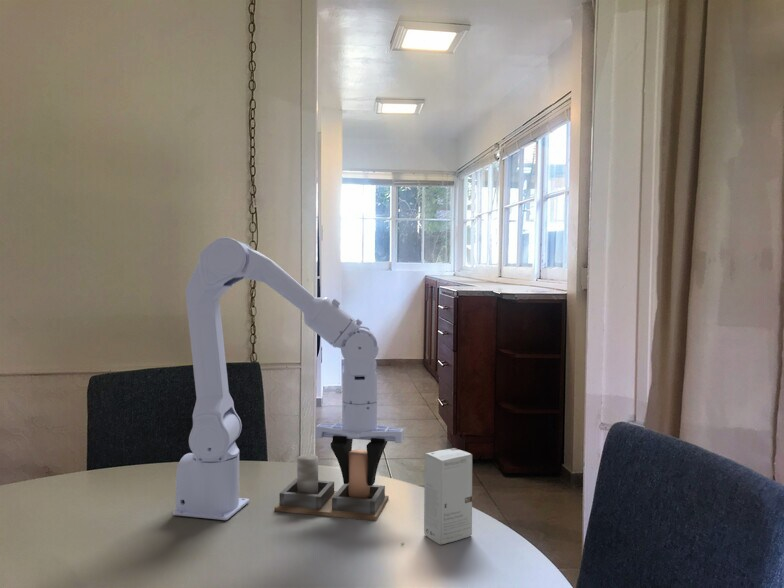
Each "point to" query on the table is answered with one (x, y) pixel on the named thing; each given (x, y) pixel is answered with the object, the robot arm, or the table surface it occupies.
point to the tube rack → (327, 495)
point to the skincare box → (448, 495)
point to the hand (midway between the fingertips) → (359, 482)
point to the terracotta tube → (358, 474)
